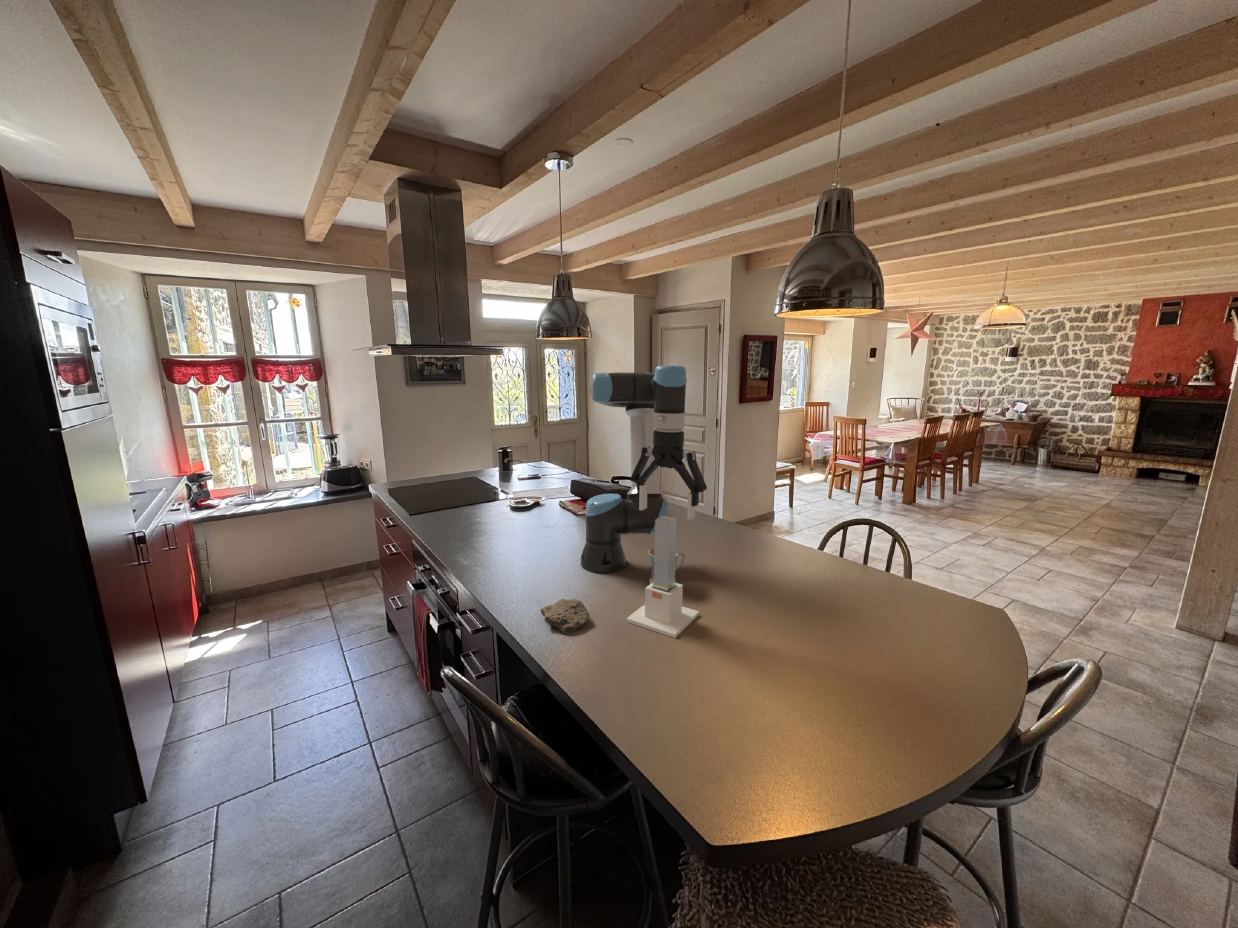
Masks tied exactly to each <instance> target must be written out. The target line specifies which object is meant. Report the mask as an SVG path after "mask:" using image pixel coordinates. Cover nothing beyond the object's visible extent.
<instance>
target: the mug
mask: <svg viewBox="0 0 1238 928" xmlns="http://www.w3.org/2000/svg"><path fill="white" fill-rule="evenodd" d="M647 552H648V555H649V558H650V562H651V568H652V569H651V570H652V571H651V575H650V578H649V580H648V584H649V585H650V584H651V583H653V582H654V554H655V547H651V548H650V549H649V550H648V551H647ZM680 555H681V556H682V558H681V560H680V562H679V564H678V565H677V566H675V572H676V571H677V570H678V569H679V568H680V567H681V566H682V565H683V562H684V560H685V555H684V553H682V552H680V551H679V550H678V549H676V558H675V565H676V563H677V560H678V558H679V556H680ZM675 583H678V582H677V578H675Z"/></svg>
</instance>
